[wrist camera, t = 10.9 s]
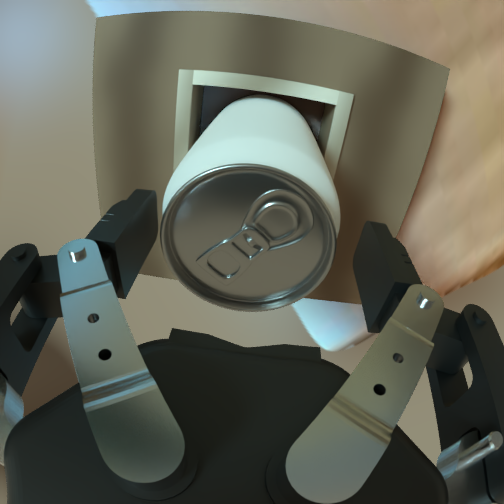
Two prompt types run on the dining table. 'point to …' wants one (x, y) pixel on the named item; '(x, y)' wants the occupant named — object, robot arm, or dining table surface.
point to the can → (251, 209)
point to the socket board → (267, 80)
